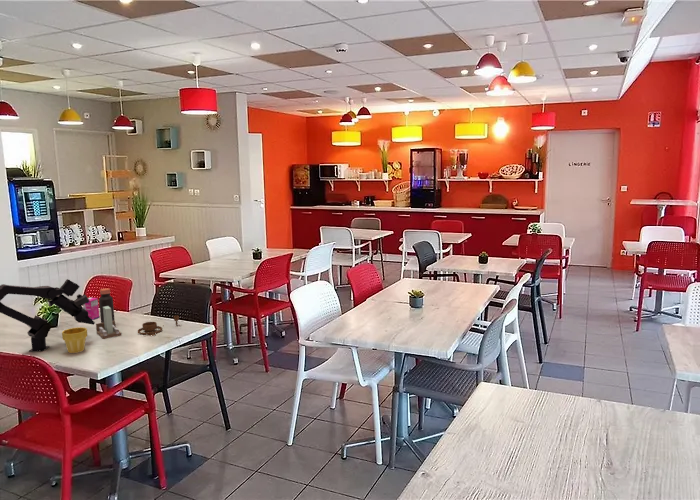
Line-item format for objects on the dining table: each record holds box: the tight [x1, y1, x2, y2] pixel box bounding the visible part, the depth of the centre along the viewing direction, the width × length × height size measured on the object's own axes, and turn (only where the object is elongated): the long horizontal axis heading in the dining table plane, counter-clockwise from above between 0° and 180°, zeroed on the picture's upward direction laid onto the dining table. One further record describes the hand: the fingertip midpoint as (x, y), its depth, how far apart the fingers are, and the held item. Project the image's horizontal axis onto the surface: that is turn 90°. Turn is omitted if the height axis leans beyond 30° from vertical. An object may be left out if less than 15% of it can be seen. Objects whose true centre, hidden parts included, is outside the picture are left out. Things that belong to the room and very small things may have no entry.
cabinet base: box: [95, 320, 123, 340], centre depth 266 cm, size 12×9×5 cm
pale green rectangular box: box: [103, 306, 113, 334], centre depth 264 cm, size 6×2×13 cm, turn 39°
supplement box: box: [82, 297, 100, 321], centre depth 295 cm, size 6×6×12 cm
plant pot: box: [61, 326, 88, 354], centre depth 241 cm, size 10×10×10 cm
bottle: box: [98, 287, 116, 323], centre depth 280 cm, size 7×7×20 cm
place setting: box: [137, 315, 180, 337], centre depth 271 cm, size 18×20×6 cm
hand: (92, 321), depth 260 cm, fingers open, 9 cm apart
